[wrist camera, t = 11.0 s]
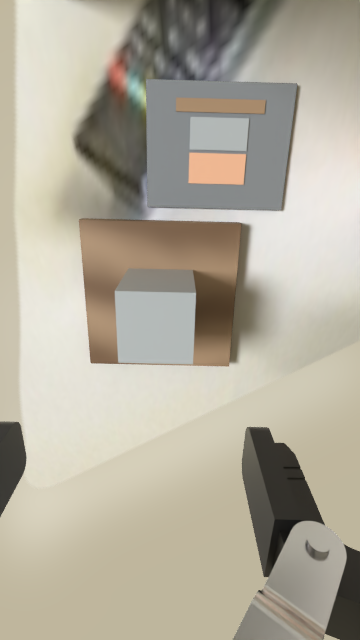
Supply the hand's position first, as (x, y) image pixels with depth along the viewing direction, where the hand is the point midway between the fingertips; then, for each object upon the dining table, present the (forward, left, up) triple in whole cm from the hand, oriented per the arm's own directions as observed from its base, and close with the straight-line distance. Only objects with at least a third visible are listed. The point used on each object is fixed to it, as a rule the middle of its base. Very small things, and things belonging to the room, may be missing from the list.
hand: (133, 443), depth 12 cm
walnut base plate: (0, 0, -18) cm, 18 cm away
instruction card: (-11, +4, -18) cm, 21 cm away
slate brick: (0, 0, -17) cm, 17 cm away
